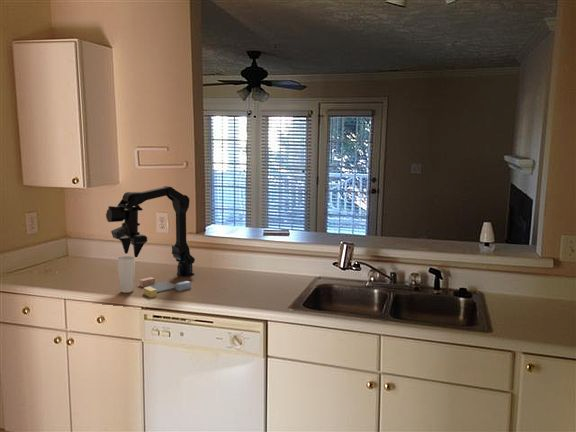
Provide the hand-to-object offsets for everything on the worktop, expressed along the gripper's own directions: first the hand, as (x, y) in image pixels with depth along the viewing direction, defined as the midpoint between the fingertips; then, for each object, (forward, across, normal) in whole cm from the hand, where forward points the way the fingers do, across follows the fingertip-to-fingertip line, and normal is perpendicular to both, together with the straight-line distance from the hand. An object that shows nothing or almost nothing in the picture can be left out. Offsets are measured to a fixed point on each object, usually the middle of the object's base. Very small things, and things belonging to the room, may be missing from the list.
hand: (131, 255), depth 214 cm
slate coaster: (+14, +11, +10) cm, 20 cm away
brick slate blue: (+14, +19, +15) cm, 28 cm away
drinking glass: (+15, +6, -4) cm, 16 cm away
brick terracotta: (+14, +3, +7) cm, 16 cm away
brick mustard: (+14, +17, 0) cm, 22 cm away
